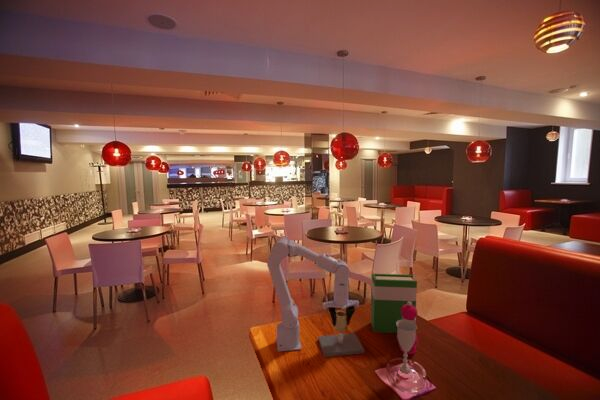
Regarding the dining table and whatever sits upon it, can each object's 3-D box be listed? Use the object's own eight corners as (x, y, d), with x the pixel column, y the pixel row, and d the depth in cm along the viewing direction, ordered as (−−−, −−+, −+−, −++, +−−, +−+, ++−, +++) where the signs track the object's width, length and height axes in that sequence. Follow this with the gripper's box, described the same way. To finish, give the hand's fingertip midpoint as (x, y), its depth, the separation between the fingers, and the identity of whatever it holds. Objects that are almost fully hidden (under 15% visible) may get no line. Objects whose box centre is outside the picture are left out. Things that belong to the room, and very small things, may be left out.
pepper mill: (419, 356, 105) (421, 306, 103) (399, 354, 107) (401, 305, 105) (415, 344, 112) (417, 298, 110) (396, 342, 114) (398, 296, 112)
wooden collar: (336, 332, 108) (336, 317, 107) (333, 325, 113) (333, 311, 112) (348, 331, 109) (348, 316, 108) (344, 324, 114) (344, 310, 113)
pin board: (324, 357, 105) (324, 343, 105) (318, 339, 116) (318, 327, 115) (364, 352, 107) (364, 339, 107) (354, 336, 118) (354, 324, 118)
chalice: (398, 363, 102) (400, 317, 100) (417, 371, 97) (420, 323, 95) (391, 374, 96) (393, 326, 94) (411, 384, 92) (413, 333, 90)
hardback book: (409, 324, 127) (411, 274, 125) (414, 333, 120) (417, 281, 118) (370, 322, 129) (372, 273, 126) (373, 331, 122) (375, 279, 119)
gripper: (325, 297, 104) (325, 331, 106) (362, 295, 106) (361, 328, 108) (321, 289, 111) (321, 321, 113) (355, 287, 113) (355, 318, 115)
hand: (340, 324), depth 111 cm, fingers closed on wooden collar, 5 cm apart
